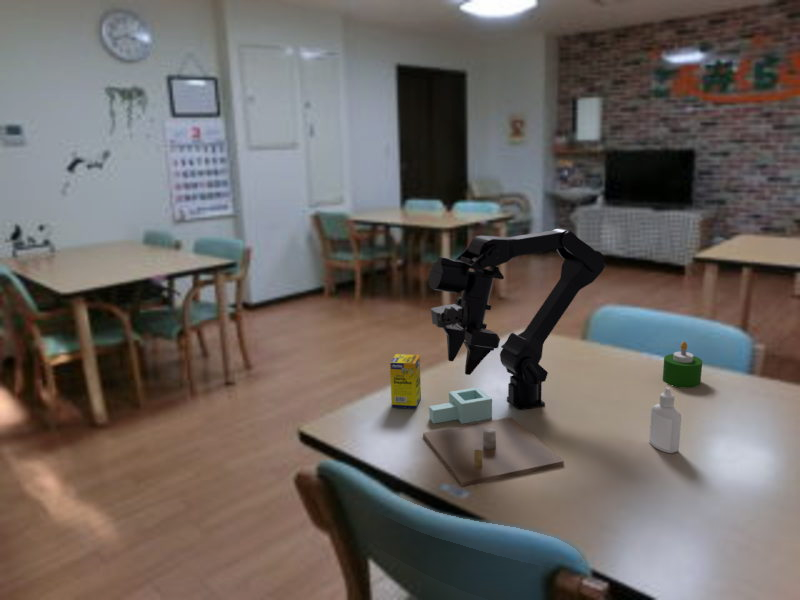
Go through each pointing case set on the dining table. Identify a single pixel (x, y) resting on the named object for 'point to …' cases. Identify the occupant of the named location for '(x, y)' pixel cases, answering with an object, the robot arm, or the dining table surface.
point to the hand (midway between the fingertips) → (458, 367)
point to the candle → (682, 369)
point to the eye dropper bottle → (665, 424)
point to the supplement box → (405, 381)
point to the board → (490, 451)
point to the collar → (463, 407)
